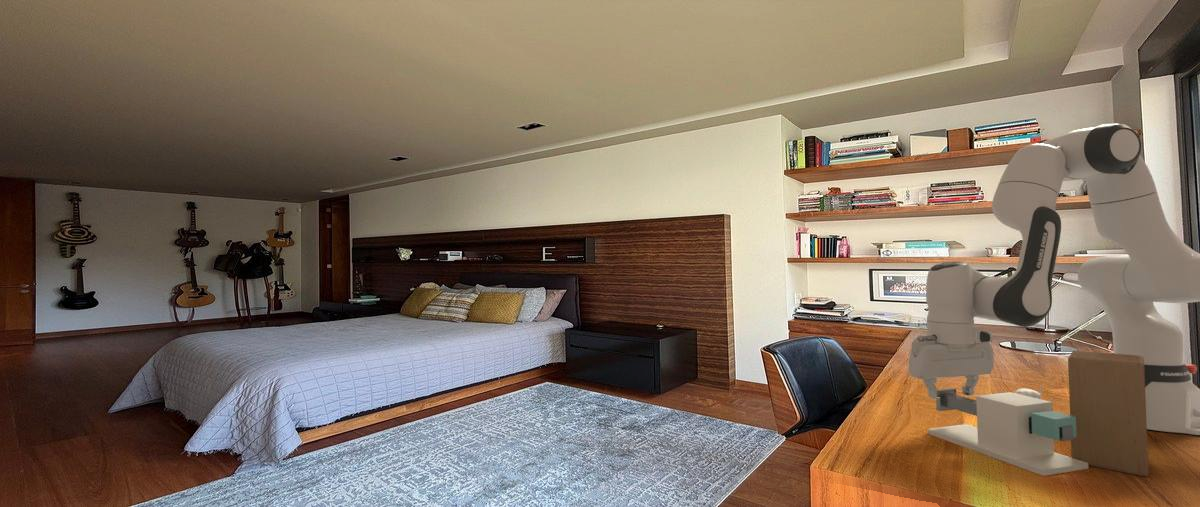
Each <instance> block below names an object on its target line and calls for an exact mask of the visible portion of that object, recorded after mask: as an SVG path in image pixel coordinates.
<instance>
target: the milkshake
mask: <svg viewBox="0 0 1200 507" xmlns="http://www.w3.org/2000/svg"><path fill="white" fill-rule="evenodd" d="M1043 388H1044V385H1043V384H1042V385H1041V387H1040V389H1039V391H1037V390H1034V389H1031V388H1026V387H1024V388H1018V389H1016V390H1015V392H1014V393H1016V394H1020V395H1025V396H1029V397H1033V398H1037V399H1041V398H1042V393H1041V392H1042V391H1043Z"/></svg>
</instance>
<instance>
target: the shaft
mask: <svg viewBox="0 0 1200 507" xmlns="http://www.w3.org/2000/svg"><path fill="white" fill-rule="evenodd" d="M937 390H940V395H941V397H940V398H936V399H935V402H936V404H935V405H936V406H935V407H936V408H935V410H936V411H938V412H946V411H952V410H953V411H954V410H957V411H959V412H963V413H966V414H969V415H971V416H972V415H973V416H976V417H977V403H976V399H972V398H970V397H969V398H968V397H965V396H961V395H957V388H953V387H949V388H937ZM1029 432H1032V417H1029ZM1059 432H1060V439H1059V440H1058V441H1060V442H1068V441H1070V442H1071V440H1073V426H1064V427H1059Z"/></svg>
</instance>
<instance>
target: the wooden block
mask: <svg viewBox="0 0 1200 507" xmlns="http://www.w3.org/2000/svg"><path fill="white" fill-rule="evenodd" d="M1067 366H1068V368H1067V369H1068V370H1067V372H1068V390H1069V391H1068V392H1069V393H1068V395H1069V396H1068V397H1069V415H1071V416H1075V417H1076V434H1077V437H1073V440H1070V445H1071V447H1070V449H1071V458H1074V459H1077V460H1080V461H1083V462H1087V463H1088V467H1089V466H1090V467H1095V468H1100V469H1104V470H1110V471H1115V472H1121V473H1125V474H1126V473H1127V474H1131V475H1135V476H1142V477H1148V476H1149V475H1150V474H1149V456H1148V455H1149V454H1148V452H1149V451H1148V450H1149V448H1148V431H1147V430H1148V429H1147V423H1146V398H1145V373H1144V359H1143V357H1142V356H1137V355H1124V354H1114V353H1110V352H1097V351H1084V350H1083V351H1082V350H1072V352H1071V353H1070V355H1069V356H1068V358H1067Z"/></svg>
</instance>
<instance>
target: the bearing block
mask: <svg viewBox="0 0 1200 507" xmlns="http://www.w3.org/2000/svg"><path fill="white" fill-rule="evenodd" d="M975 400H976V403H977V416H976V423H977V424H976V426H973V425H970V424H967V423H965V424H955V425H950V426H939V427H934V428H927V434H928V435H930V436H934V437H936V438H939V439H941V440H944V441H946V442H950V443H953V444H956V445H958V446H960V447H964V448H965V449H968V450H971V451H974V452H977V453H980V454H982V455H985V456H988V457H991V458H994V459H996V460H999V461H1002V462H1004V463H1007V464H1010V465H1013V466H1014V467H1015V466H1016V467H1018V468H1021V469H1024V470H1026V471H1028V472H1031V473H1034V474H1037V475H1039V476H1043V477H1045V476H1051V475H1058V474H1063V473H1069V472H1075V471H1081V470H1087V469H1089V465H1088V463H1087V462H1083V461H1080V460H1077V459H1074V458H1072V456H1068V455H1064V454H1062V453H1058V452H1055V440H1054V439H1051V438H1047V437H1044V436H1040V435H1037V434H1034V433H1032V432H1029V417H1031V413H1037V412H1045V411H1054V410H1053V409H1054V408H1053V401H1050V400H1046V399H1037V398H1033V397H1029V396H1025V395H1020V394H1016V393H1015V392H1012V391H1011V392H1010V391H1008V392H999V393H990V394H982V395H976V396H975Z"/></svg>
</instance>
